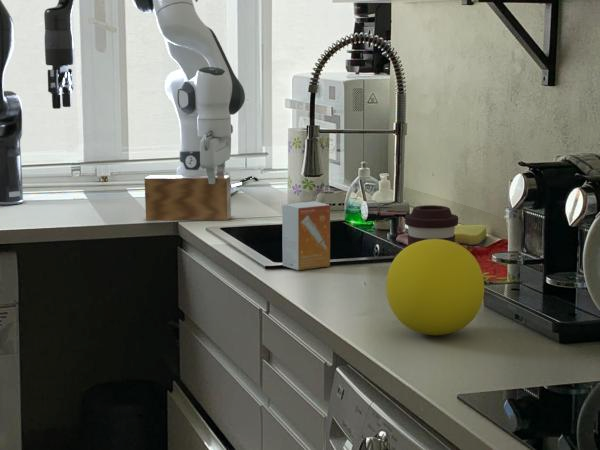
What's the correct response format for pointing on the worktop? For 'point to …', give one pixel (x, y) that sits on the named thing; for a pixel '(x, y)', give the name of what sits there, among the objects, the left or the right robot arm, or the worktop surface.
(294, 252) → the small box
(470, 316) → the toy
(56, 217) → the worktop surface
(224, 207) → the box
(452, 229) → the coffee cup
